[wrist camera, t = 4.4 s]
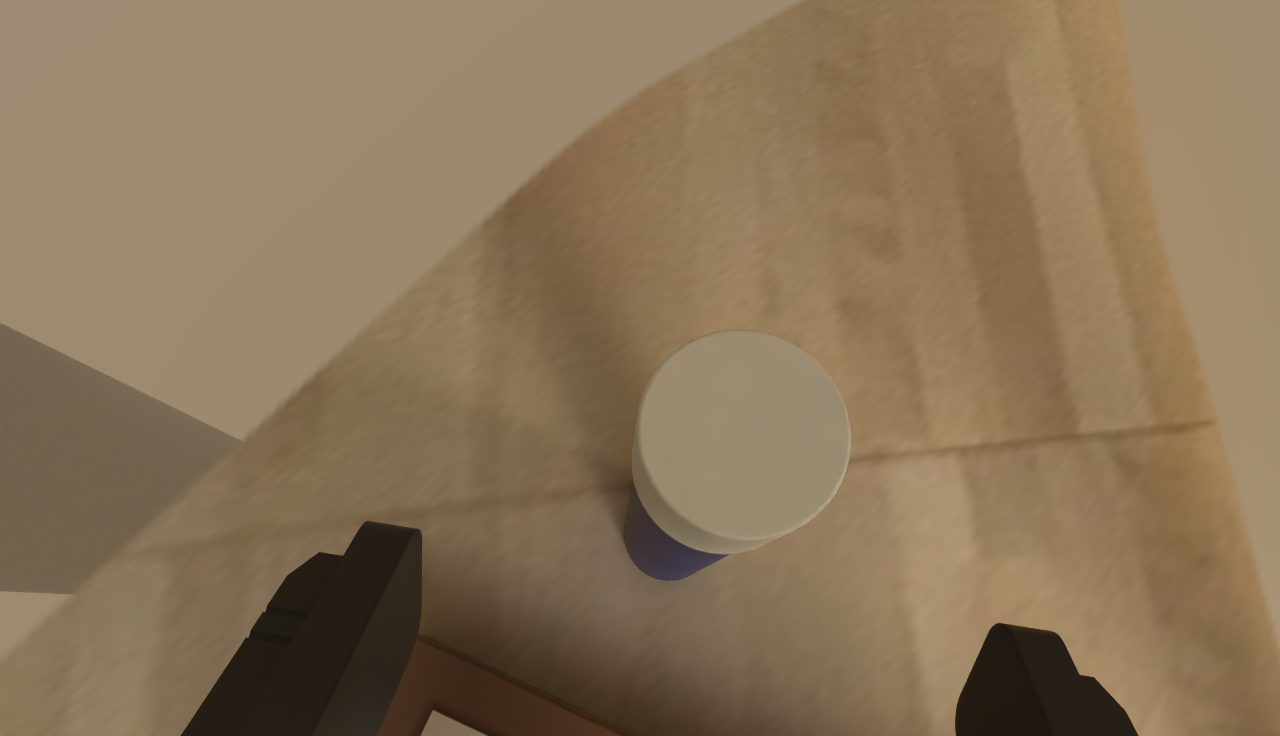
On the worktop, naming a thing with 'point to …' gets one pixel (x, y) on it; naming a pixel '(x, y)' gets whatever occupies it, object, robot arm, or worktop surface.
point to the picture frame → (478, 701)
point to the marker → (731, 451)
